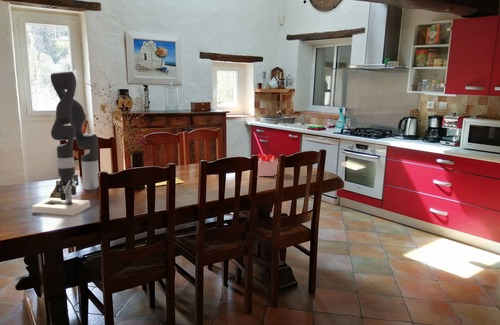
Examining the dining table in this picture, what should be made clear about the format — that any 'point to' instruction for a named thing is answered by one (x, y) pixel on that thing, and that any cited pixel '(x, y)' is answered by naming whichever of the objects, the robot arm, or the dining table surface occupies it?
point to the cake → (267, 165)
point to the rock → (55, 193)
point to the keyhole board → (60, 207)
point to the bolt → (68, 196)
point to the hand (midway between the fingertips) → (68, 197)
